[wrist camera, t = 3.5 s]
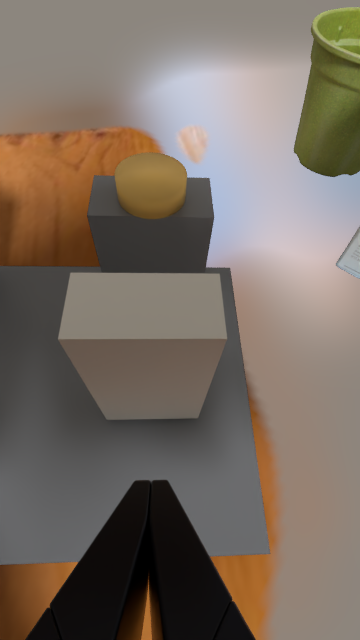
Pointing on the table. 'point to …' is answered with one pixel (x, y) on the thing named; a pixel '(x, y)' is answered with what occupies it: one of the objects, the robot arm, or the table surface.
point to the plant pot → (332, 96)
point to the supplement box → (351, 257)
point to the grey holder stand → (85, 415)
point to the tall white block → (145, 340)
